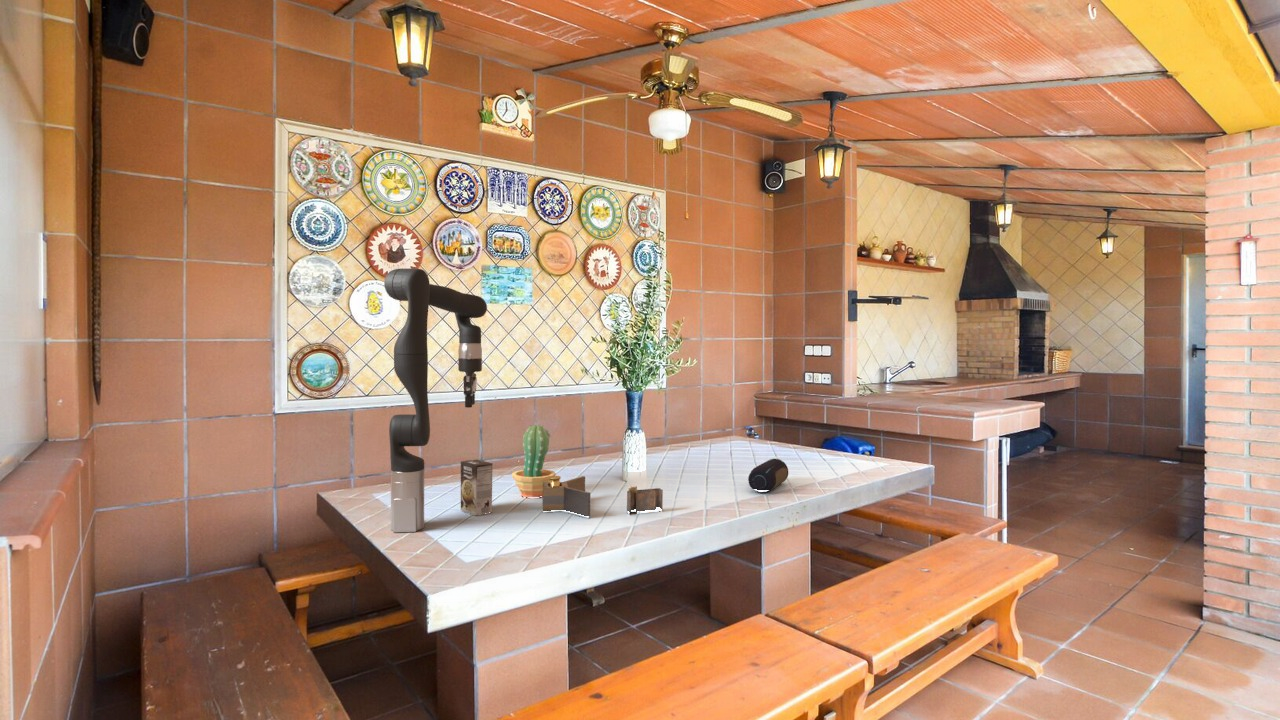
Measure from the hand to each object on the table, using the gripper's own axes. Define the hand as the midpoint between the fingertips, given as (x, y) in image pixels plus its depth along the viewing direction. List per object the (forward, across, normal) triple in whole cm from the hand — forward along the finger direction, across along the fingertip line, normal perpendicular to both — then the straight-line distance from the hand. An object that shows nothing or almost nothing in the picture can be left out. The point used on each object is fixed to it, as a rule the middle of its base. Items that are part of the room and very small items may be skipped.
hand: (470, 406), depth 218 cm
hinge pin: (+33, +8, +28) cm, 44 cm away
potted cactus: (+33, -11, +21) cm, 41 cm away
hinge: (+33, +8, +31) cm, 46 cm away
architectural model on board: (+34, +15, +57) cm, 68 cm away
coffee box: (+33, +9, +3) cm, 35 cm away
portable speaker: (+33, -15, +109) cm, 115 cm away
